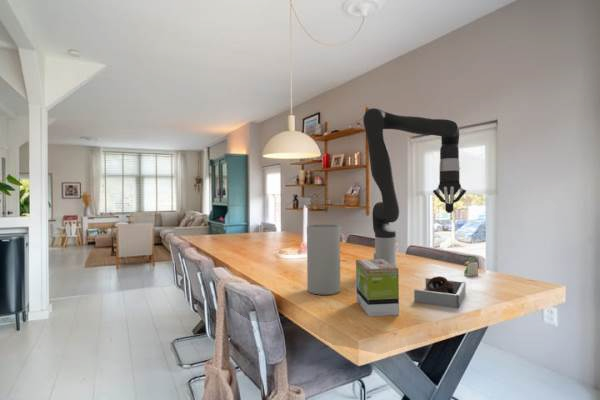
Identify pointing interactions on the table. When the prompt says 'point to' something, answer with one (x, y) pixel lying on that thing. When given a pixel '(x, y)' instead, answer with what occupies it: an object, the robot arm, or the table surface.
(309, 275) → the cylinder vase
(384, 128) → the robot arm
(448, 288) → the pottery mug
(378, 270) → the tea box
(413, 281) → the table surface
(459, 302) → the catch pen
